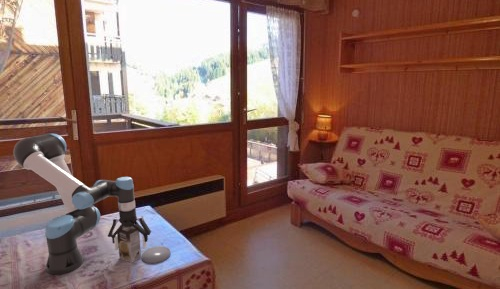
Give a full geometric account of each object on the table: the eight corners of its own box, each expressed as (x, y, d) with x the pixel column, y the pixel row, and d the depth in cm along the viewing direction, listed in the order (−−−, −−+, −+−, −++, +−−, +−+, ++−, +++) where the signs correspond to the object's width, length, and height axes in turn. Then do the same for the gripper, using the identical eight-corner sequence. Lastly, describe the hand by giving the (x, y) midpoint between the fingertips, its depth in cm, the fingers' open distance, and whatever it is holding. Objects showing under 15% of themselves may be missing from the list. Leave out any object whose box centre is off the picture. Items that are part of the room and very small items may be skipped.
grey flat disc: (138, 264, 144) (138, 262, 144) (145, 248, 157) (145, 246, 157) (167, 262, 145) (167, 261, 145) (172, 247, 159) (172, 245, 158)
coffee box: (118, 258, 148) (116, 229, 145) (129, 252, 154) (126, 223, 151) (131, 263, 144) (128, 233, 141) (141, 256, 150) (139, 227, 147)
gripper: (97, 212, 139) (102, 253, 143) (151, 210, 141) (154, 250, 145) (103, 206, 146) (108, 245, 151) (155, 204, 148) (158, 242, 153)
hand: (131, 248), depth 148 cm, fingers open, 13 cm apart
